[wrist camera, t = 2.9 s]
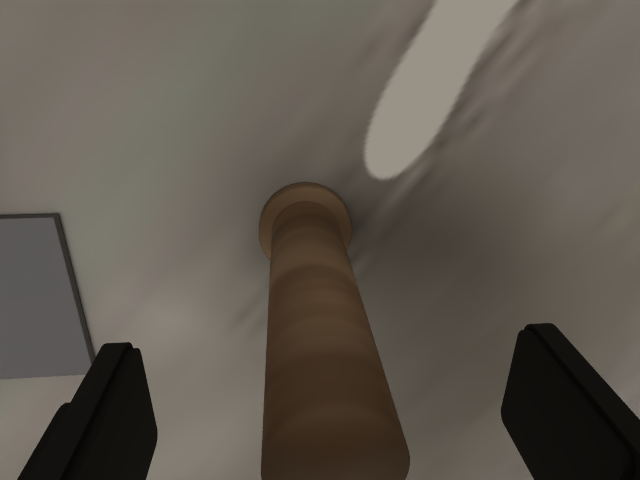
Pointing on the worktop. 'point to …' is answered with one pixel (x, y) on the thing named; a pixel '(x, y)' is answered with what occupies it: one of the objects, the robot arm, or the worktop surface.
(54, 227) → the rubber mat
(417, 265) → the worktop surface
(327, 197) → the wooden pepper mill
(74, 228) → the worktop surface
